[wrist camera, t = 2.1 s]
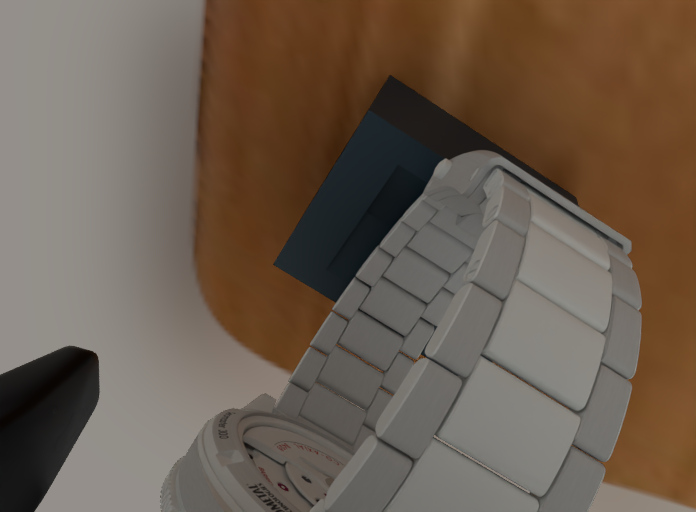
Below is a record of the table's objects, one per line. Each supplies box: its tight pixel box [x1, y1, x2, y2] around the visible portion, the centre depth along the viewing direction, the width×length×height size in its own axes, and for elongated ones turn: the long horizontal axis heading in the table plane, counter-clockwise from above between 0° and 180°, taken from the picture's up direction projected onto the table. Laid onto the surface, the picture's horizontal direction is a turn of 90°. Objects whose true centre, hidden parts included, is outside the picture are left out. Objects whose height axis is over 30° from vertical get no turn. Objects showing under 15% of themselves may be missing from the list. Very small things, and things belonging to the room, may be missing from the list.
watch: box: [160, 75, 642, 512], centre depth 11 cm, size 6×8×11 cm
